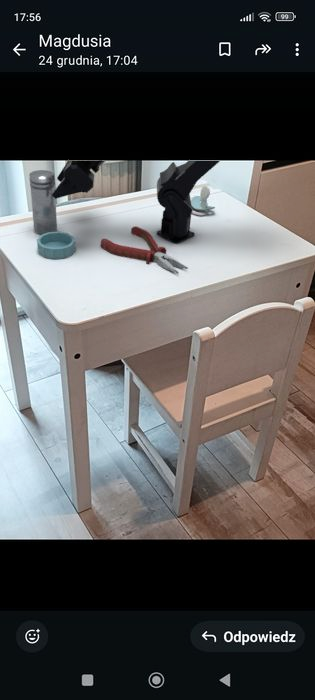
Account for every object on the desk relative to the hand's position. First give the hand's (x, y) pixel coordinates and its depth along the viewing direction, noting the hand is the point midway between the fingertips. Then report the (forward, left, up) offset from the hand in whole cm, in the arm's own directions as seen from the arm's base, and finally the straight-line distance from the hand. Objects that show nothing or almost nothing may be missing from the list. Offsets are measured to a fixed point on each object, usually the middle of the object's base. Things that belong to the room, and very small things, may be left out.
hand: (56, 188), depth 123 cm
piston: (+2, -2, -10) cm, 11 cm away
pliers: (-6, +20, -11) cm, 24 cm away
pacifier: (-34, +14, -10) cm, 38 cm away
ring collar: (+6, +7, -10) cm, 14 cm away
